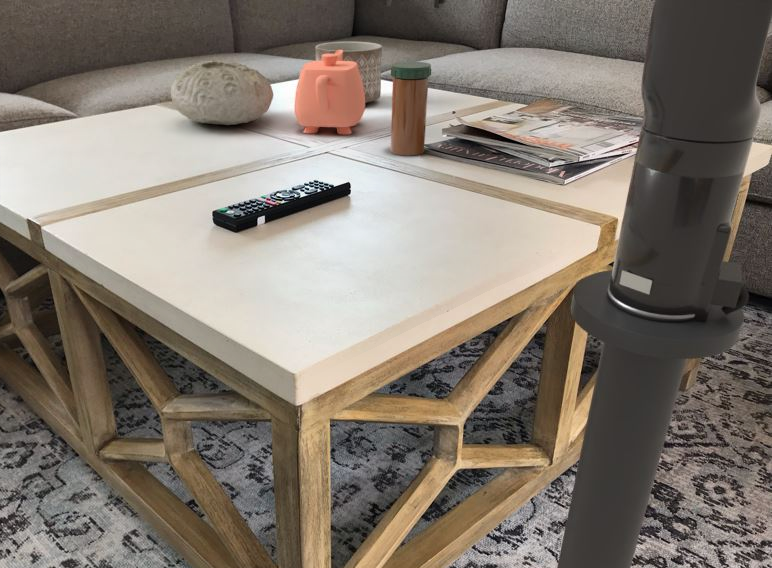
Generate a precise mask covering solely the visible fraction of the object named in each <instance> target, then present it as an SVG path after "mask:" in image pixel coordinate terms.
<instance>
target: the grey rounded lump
mask: <svg viewBox="0 0 772 568" xmlns="http://www.w3.org/2000/svg"><path fill="white" fill-rule="evenodd" d="M169 91H170V98H171V99H170V100H171V102H172V104H173V106H174V108H175V109H176V110H177V111H178V113H180V114H181V115H182V116H184V117H186V118H187V119H188V120H191V121H192V122H198V123H203V124H208V125H221V126H232V125H234V126H235V125H239V124H245V123H246V124H247V123H250V122H253V121H256V120H258V119H259V118H261V117H262V116H263V115H264V114H265V113H267V112H268V110H270V107H271V104H272V102H273V99H274V91H273V88H272V85H271V82H270V79H269V78H266V77H265V76H264V75H263V74H262V73H260V71H258V69H254V68H251V67H248V66H246V64H241V63H239V62H235V61H231V60H229V61H217V60H213V59H211V60H210V61H208V60H206V61H205V60H204V61H201V62H197V63H196V64H193V65H190V66H188V67H186V68H185V69H184V70H183V71H181V72H180V73H179V74H176V75H175V79H174V82H173V83H172V85H171V87H170V90H169Z"/></svg>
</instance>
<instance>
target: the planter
mask: <svg viewBox="0 0 772 568" xmlns="http://www.w3.org/2000/svg"><path fill="white" fill-rule="evenodd" d="M314 49H315V61H323V60H322V56H321V55H323V54H335V52H336V51H337V50H342V51H343V56H342V61H353V62H356V63H357V66H358V69H359V72H360V76H361V80H362V84H363V88H364V95H365V104H367V103H371V102H374V101H377V100H379V99H380V98H381V94H382V93H381V92H382V91H381V88H382V60H383V59H382V55H383V53H382V52H383V46H382V45H381V44H380V43H375V42H368V41H332V42H331V41H330V42H323V43H319V44H316V45H315V48H314Z"/></svg>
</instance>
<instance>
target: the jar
mask: <svg viewBox="0 0 772 568" xmlns="http://www.w3.org/2000/svg"><path fill="white" fill-rule="evenodd" d="M428 93H429V77H427V78H421V79H402V78H396V77H393V76H392V94H391V121H390V123H391V124H390V147H389V148H390V153H392V154H394V155H398V156H403V157H406V156H407V157H408V156H409V157H411V156H419V155H422V154H424V152H425V147H426V146H425V144H426V143H425V142H426V130H427V129H426V126H427V110H428V109H427V108H428V96H429V95H428Z"/></svg>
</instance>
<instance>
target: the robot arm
mask: <svg viewBox="0 0 772 568" xmlns="http://www.w3.org/2000/svg"><path fill="white" fill-rule="evenodd" d="M447 1H448V0H433V8H434V9H441V8H443V6H444V4H446V3H447ZM379 2H381V5H382V7H389V6H390V7H391V6H392V3H393V0H379ZM770 36H772V0H654V2H653V7H652V12H651V17H650V24H649V29H648V36H647V42H646V49H645V54H644V62H643V68H642V75H641V85H640V88H641V89H640V91H641V92H640V93H641V98H642V102H643V115H642V119H641V120H642V122H641V127H640V131H639V135H638V141H637V147H636V152H635V157H634V162H633V166H632V172H631V177H630V182H629V186H628V191H627V196H626V201H625V206H624V211H623V216H622V220H621V226H620V230H619V235H618V241H617V245H616V252H615V255H614V260H613V266H612V269H611V270H612V274H611V278H610V284H609V286H608V290H607V298H608V300H609V301H610V303H612V304H613V305H614V306H615V307H617V308H618V309H620V310H621V311H623V312H626V313H628V314H630V315H633V316H636V317H639V318H643V319H647V320H652V321H658V322H668V323H680V322H689V321H698V322H706V321H707V317H708V314H709V310H710V306H711V304H712V305H718V306H724V307H722V308H721V309H722V311H723V312H724V313H725V314H726V315H727V314H729V313H731V312H734V311H736V310H738V309H740V308H741V309H743V307H745V306H746V305H747V303H748V301H749V298H750V295H749V291H748V290H747V289H746V286H745V285H744V284H743V276H742V268H741V262H740V263H739V262H732V261H725V260H724V259H725V256H726V253H727V248H728V246H729V241H730V239H731V235H732V230H733V229H732V218H733V215H734V211H735V207H736V204H737V201H738V197H739V192H740V189H741V186H742V182H743V178H744V175H745V171H746V167H747V163H748V160H749V156H750V154H751V153H750V152H751V149H752V145H753V142H754V138H755V134H756V131H757V127H758V124H759V121H760V117H761V111H762V105H761V101H760V100H759V99H758V96H757V82H758V77H759V73H760V67H761V64H762V60H763V55H764V51H765V48H766V45H767V39H768V37H770Z"/></svg>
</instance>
